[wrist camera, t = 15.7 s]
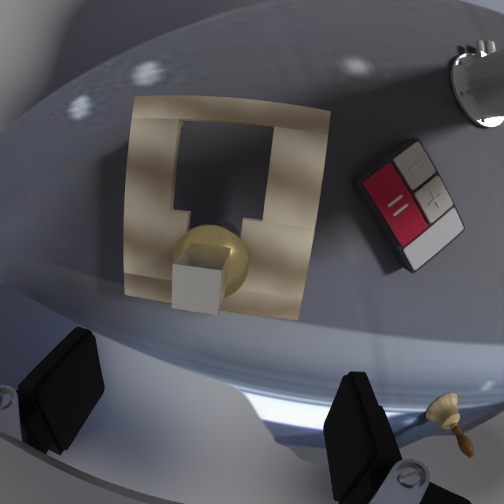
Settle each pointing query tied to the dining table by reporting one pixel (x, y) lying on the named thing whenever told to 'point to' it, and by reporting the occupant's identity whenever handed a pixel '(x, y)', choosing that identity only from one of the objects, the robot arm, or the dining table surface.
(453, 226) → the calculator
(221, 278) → the peg
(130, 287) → the shelf
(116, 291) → the dining table surface
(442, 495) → the robot arm
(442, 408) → the hand bell
